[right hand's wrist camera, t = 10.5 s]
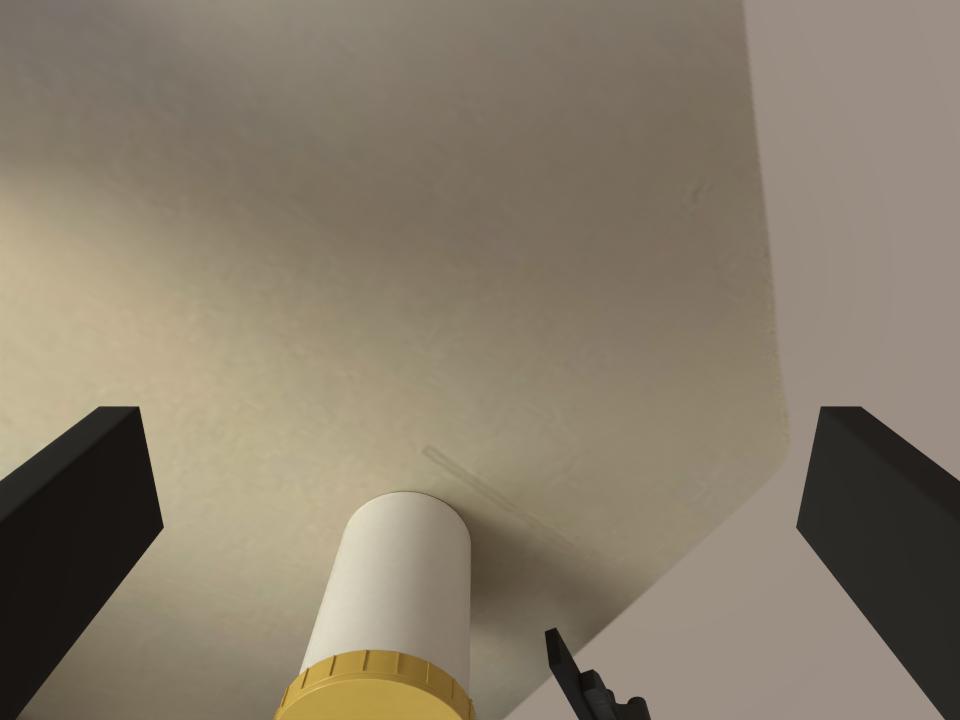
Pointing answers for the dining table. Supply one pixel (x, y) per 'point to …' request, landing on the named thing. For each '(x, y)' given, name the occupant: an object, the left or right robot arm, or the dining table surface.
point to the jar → (400, 585)
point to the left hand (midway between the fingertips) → (449, 682)
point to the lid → (375, 690)
